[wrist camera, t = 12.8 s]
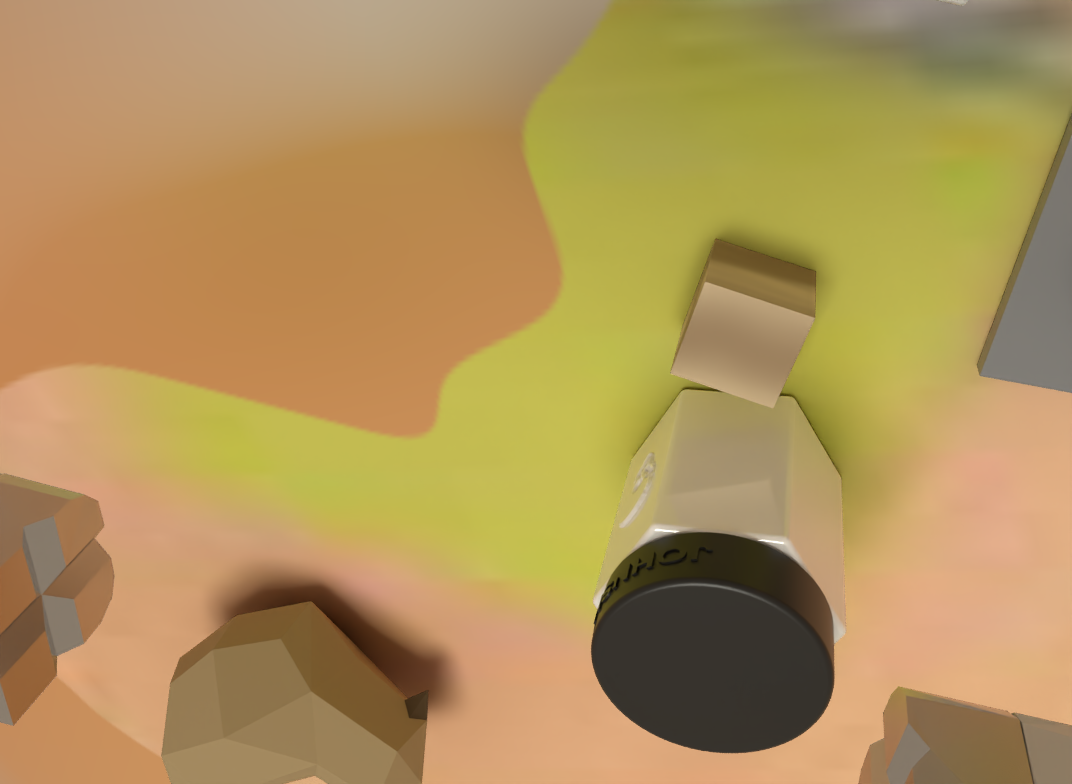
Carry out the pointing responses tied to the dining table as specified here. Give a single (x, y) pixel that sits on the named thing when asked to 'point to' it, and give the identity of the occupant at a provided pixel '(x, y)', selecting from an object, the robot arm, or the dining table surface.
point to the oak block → (746, 323)
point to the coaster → (1039, 293)
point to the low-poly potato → (289, 707)
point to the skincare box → (955, 2)
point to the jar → (724, 577)
